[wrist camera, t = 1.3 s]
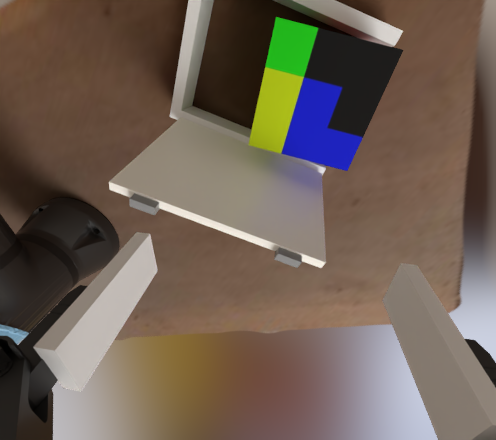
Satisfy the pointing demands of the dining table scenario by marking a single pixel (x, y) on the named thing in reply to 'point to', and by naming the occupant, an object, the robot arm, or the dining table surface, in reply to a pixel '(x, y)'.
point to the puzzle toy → (319, 93)
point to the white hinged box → (194, 36)
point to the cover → (230, 190)
